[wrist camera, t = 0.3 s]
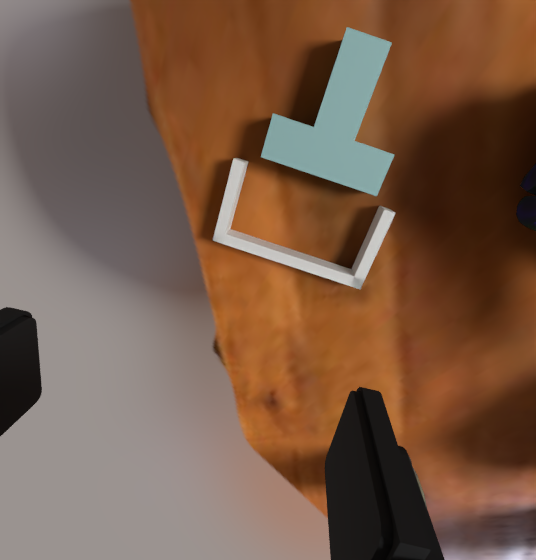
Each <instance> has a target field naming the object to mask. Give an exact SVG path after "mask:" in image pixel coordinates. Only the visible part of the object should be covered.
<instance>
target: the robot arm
mask: <svg viewBox="0 0 536 560" xmlns="http://www.w3.org/2000/svg"><path fill="white" fill-rule="evenodd" d="M41 390H42V387H41V375H40V363H39V350H38V338H37V326H36V320H35V319H34V318H32V315H31V313H29V312H27V311H23V310H19V309H14V308H8V307H6V308H3V309H1V310H0V436H1V435H2V434H3V433H4V432H6V431H7V430H8V429H9V428H10V427H11V426H12V425H13V424H14V423H15V422H16V421H17V420H18V419H19V418H20V417H21V416H23V415H24V414H25V413H26V412H27V411H28V410H29V409H30V408H31V407H32V406H33V405H34V404H35V403H36V402H37V401H38V399H39V398H40V395H41V392H42V391H41ZM325 480H326V495H327V510H328V524H329V538H330V539H329V540H330V554H331V560H444V557H443V554H442V551H441V548H440V545H439V542H438V539H437V537H436V534H435V531H434V528H433V525H432V522H431V519H430V516H429V513H428V511H427V508H426V505H425V502H424V499H423V496H422V493H421V490H420V487H419V484H418V482H417V479H416V476H415V473H414V470H413V467H412V464H411V461H410V458H409V456H408V453H407V451H406V450H405V449H404V448H403V447H401V446H398V445H397V441H396V438H395V435H394V432H393V429H392V426H391V423H390V420H389V417H388V413H387V410H386V407H385V404H384V401H383V398H382V395H381V393H380V392H379V391H375V390H371V389H366V388H362V387H359V388H358V389H357V391H351V392H350V394H349V397H348V399H347V402H346V405H345V407H344V410H343V413H342V416H341V418H340V421H339V424H338V426H337V429H336V432H335V435H334V437H333V440H332V443H331V446H330V448H329V451H328V454H327V457H326V461H325Z"/></svg>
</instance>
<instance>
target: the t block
mask: <svg viewBox="0 0 536 560" xmlns="http://www.w3.org/2000/svg"><path fill="white" fill-rule="evenodd" d="M391 44H392V43H391V42H388V41H386V40H383V39H380V38H377V37H374V36H371V35H368V34H365V33H363V32H360V31H357V30H354V29H351V28H348V27H347V29H346V32H345V34H344V37H343V40H342V43H341V46H340V49H339V52H338V55H337V58H336V61H335V64H334V67H333V70H332V73H331V76H330V79H329V82H328V85H327V88H326V91H325V94H324V97H323V100H322V103H321V106H320V109H319V112H318V115H317V118H316V121H315V124H314V127H312V126H309V125H306V124H303V123H300V122H297V121H294V120H291V119H288V118H286V117H283V116H280V115H277V114H274V113H273V115H272V119H271V122H270V126H269V129H268V133H267V136H266V140H265V143H264V147H263V150H262V154H261V157H262V158H265V159H268V160H271V161H274V162H277V163H280V164H283V165H286V166H289V167H292V168H295V169H297V170H300V171H303V172H306V173H309V174H312V175H315V176H318V177H321V178H324V179H327V180H330V181H333V182H336V183H339V184H342V185H345V186H348V187H351V188H354V189H357V190H360V191H363V192H366V193H369V194H372V195H374V196H377V194H378V192H379V190H380V187H381V185H382V183H383V181H384V178H385V176H386V174H387V171H388V169H389V167H390V164H391V162H392V160H393V157H394V154H391V153H388V152H385V151H382V150H379V149H377V148H374V147H371V146H368V145H365V144H362V143H359V142H356V141H355V138H356V135H357V133H358V130H359V128H360V125H361V122H362V120H363V117H364V114H365V112H366V109H367V107H368V104H369V101H370V99H371V96H372V93H373V91H374V88H375V86H376V83H377V80H378V78H379V75H380V73H381V70H382V67H383V65H384V62H385V59H386V57H387V54H388V52H389V49H390V46H391Z"/></svg>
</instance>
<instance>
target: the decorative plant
mask: <svg viewBox="0 0 536 560" xmlns="http://www.w3.org/2000/svg"><path fill="white" fill-rule="evenodd" d="M520 187H522V188H523V189H524V190H525V191H527V192H529V193H532V194H534V195H536V164H535V165H534V166H533V167H532V169H531V170H530V171H529V172H528V173H527V175H526V176H525V177H524V179H523V181H522V182H521V184H520ZM516 215H517V218H518V220H519V222H520V223H522V224H523V225H524V226H526V227H528V228H530V229H532V230H534V231H536V196H526V197H524V198H523V199H522V200H521V201H520V202H519V203H518V206H517V213H516Z"/></svg>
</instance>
